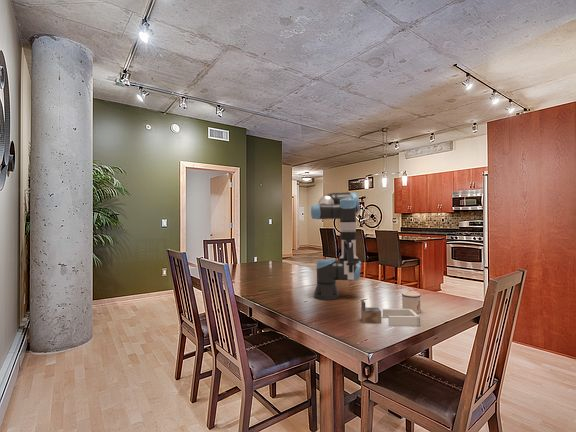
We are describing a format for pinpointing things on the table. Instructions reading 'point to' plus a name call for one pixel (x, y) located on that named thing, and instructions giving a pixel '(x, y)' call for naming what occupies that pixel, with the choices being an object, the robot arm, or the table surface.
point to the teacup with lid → (411, 300)
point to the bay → (401, 317)
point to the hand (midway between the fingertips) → (348, 276)
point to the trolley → (370, 314)
